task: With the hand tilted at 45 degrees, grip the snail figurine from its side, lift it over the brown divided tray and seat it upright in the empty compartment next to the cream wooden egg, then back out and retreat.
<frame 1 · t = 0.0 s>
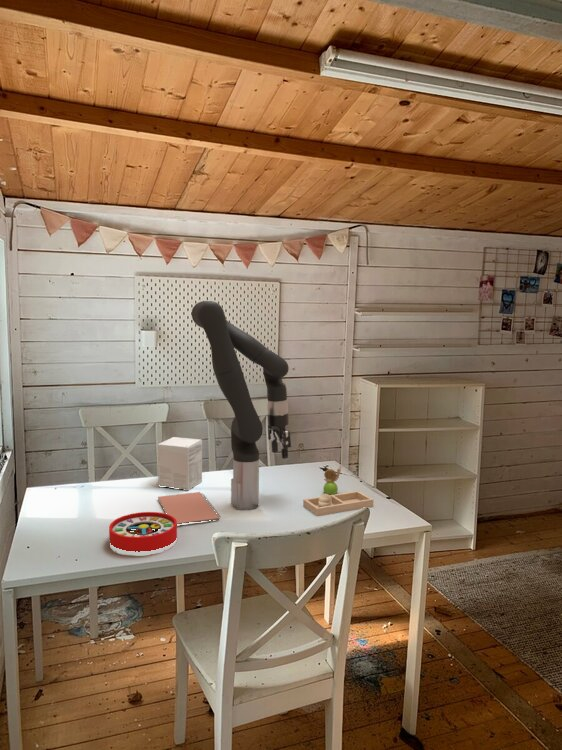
hand: (279, 455, 208), 17 cm above the table, tool pointing down, fingers open, 8 cm apart
toy clock: (143, 543, 173), on the table
divided tray: (338, 508, 203), on the table
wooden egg: (324, 508, 200), point 1 cm above the table, touching divided tray
notebook: (188, 511, 200), on the table
snail figurine: (331, 496, 217), on the table
supplement box: (180, 484, 227), on the table
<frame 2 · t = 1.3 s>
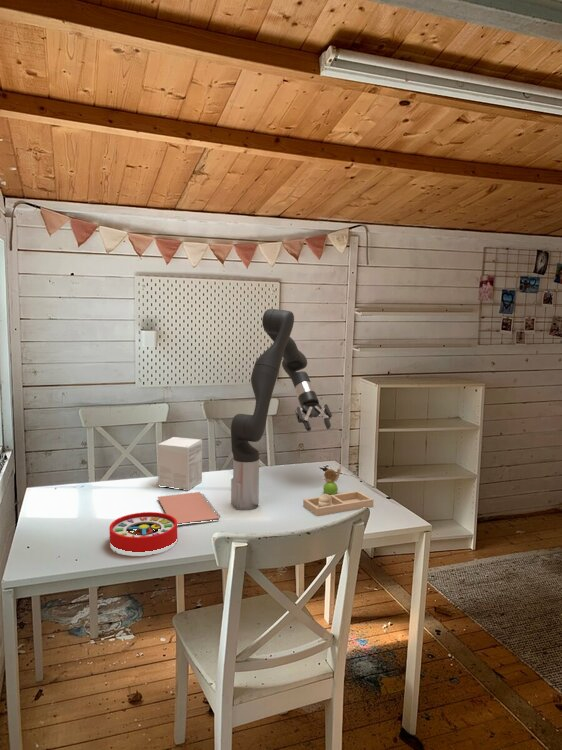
hand: (319, 429, 223), 23 cm above the table, tool tilted 45°, fingers open, 8 cm apart
nothing on the table moved.
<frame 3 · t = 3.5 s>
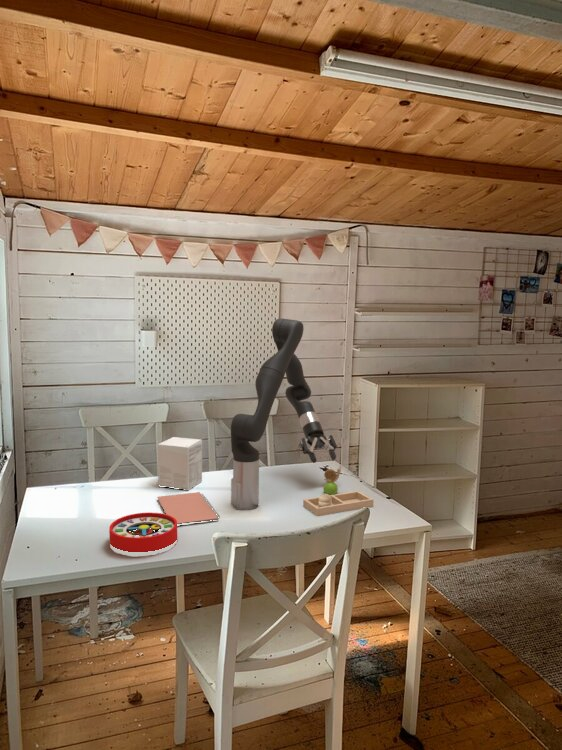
hand: (324, 460, 220), 12 cm above the table, tool tilted 45°, fingers open, 8 cm apart
nothing on the table moved.
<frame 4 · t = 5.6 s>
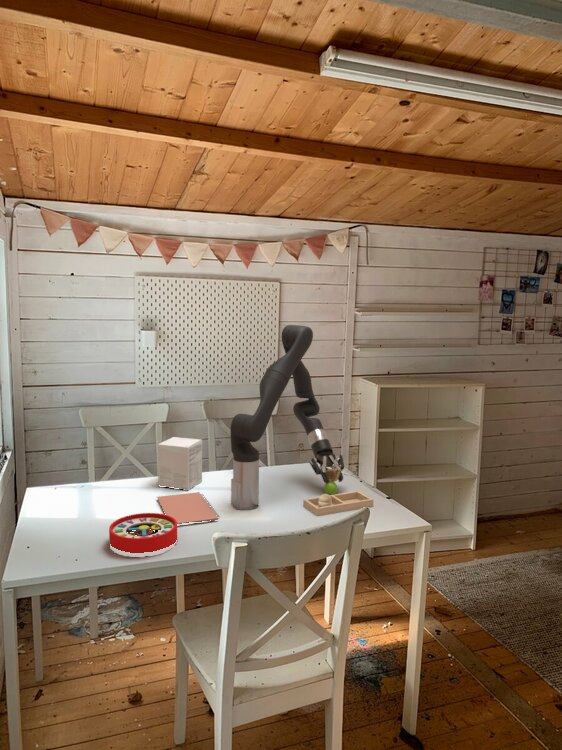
hand: (334, 481, 214), 6 cm above the table, tool tilted 45°, fingers closed on snail figurine, 5 cm apart
snail figurine: (331, 496, 217), on the table, touching gripper
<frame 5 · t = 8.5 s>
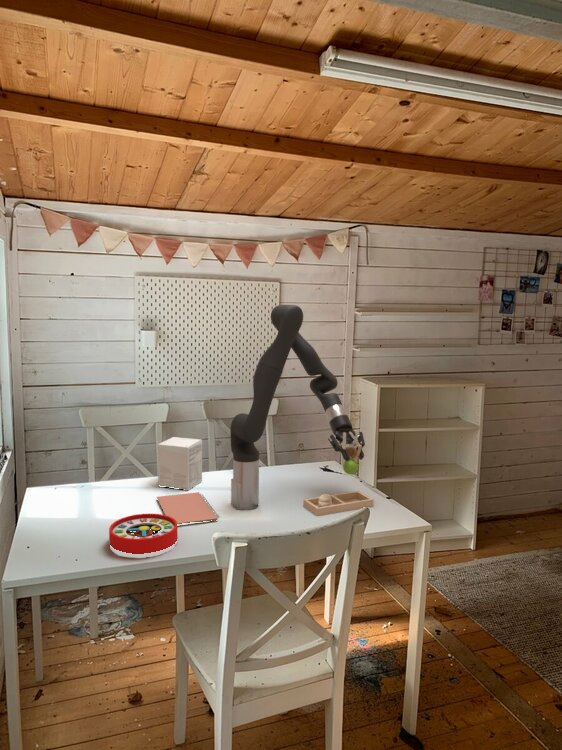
hand: (355, 459, 202), 18 cm above the table, tool tilted 45°, fingers closed on snail figurine, 5 cm apart
snail figurine: (351, 474, 204), point 12 cm above the table, touching gripper
when the fingers open (8 cm above the table, at t = 11.2 s): snail figurine drops 1 cm, resting on divided tray.
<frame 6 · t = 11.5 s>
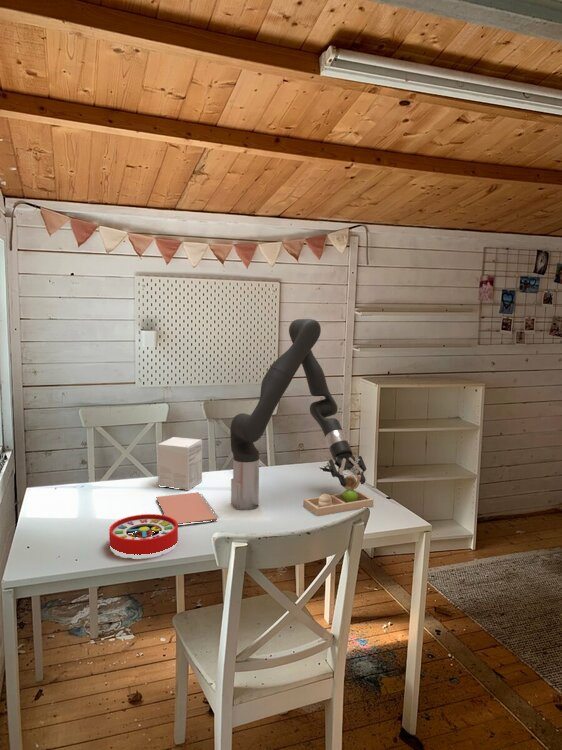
hand: (354, 484, 203), 9 cm above the table, tool tilted 45°, fingers open, 7 cm apart
snail figurine: (351, 504, 205), point 1 cm above the table, touching divided tray
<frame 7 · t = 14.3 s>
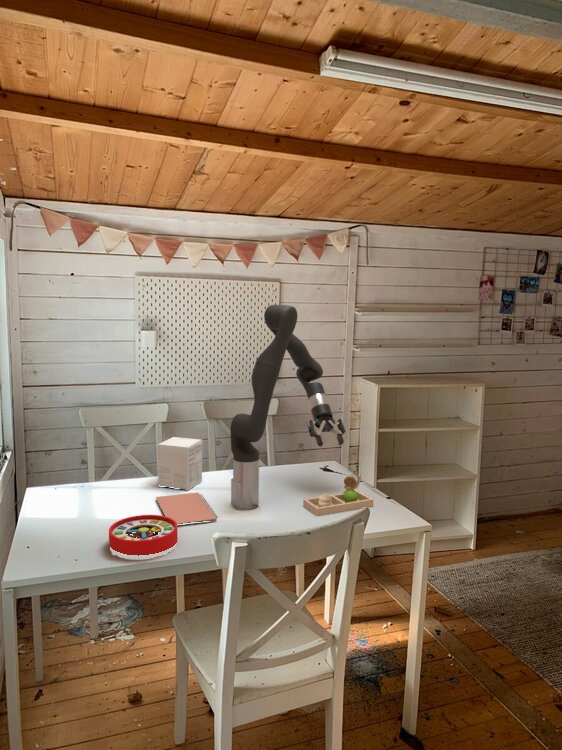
hand: (331, 445, 213), 20 cm above the table, tool tilted 40°, fingers open, 8 cm apart
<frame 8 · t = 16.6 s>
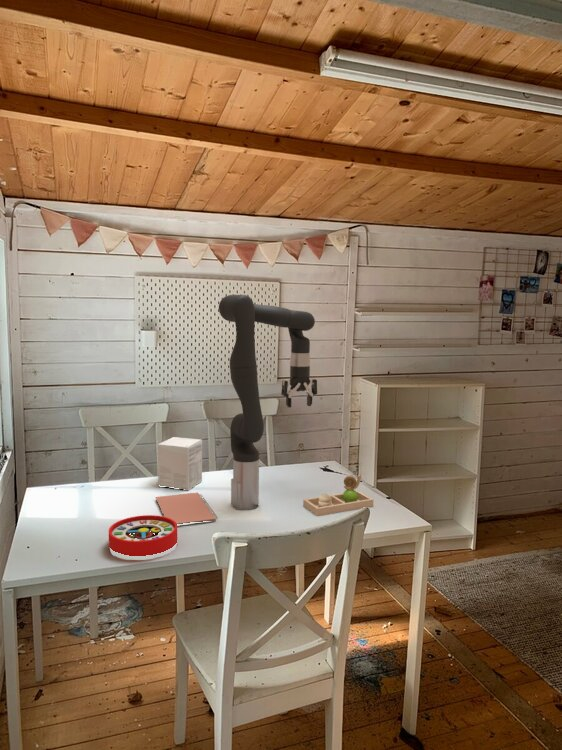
hand: (299, 406, 218), 33 cm above the table, tool pointing down, fingers open, 8 cm apart
at the end: snail figurine 0.2 cm from the target spot on the divided tray, point 0.8 cm above the divided tray's base; snail figurine tilted 0°; the gripper is holding nothing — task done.
